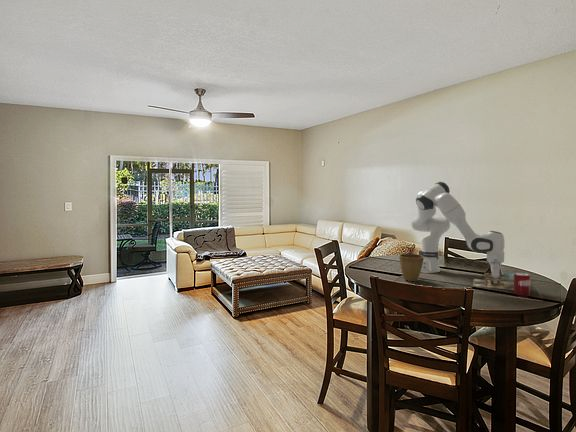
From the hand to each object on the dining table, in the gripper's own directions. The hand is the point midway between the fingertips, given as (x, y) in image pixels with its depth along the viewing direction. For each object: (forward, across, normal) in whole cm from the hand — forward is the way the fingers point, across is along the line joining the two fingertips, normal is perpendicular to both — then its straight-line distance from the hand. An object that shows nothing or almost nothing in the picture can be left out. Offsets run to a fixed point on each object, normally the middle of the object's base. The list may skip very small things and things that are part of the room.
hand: (495, 281), depth 199 cm
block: (+2, -1, 0) cm, 2 cm away
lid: (-3, 0, -9) cm, 10 cm away
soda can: (+4, -14, -12) cm, 19 cm away
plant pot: (+3, -7, +46) cm, 47 cm away
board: (+3, 0, -1) cm, 3 cm away
